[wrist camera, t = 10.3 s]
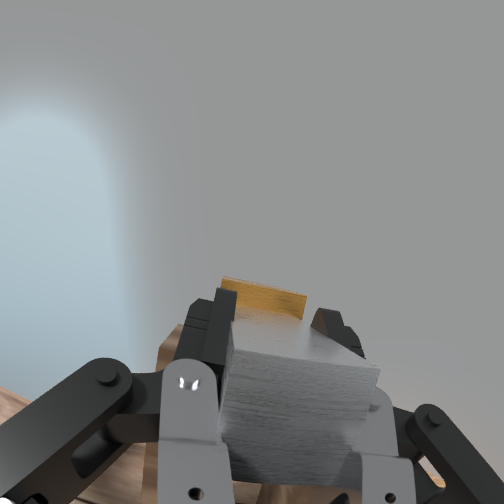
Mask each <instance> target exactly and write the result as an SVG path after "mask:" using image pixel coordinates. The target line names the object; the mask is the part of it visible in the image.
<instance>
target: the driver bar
mask: <svg viewBox="0 0 504 504" xmlns="http://www.w3.org/2000/svg"><path fill="white" fill-rule="evenodd" d="M221 288H222V289H227V290H232V291H237V301H236V309H235V317H234V322H233V321H231V325H230V332H229V339H228V347H227V354H226V362H225V368H224V372H223V375H222V379H221V383H220V387H219V391H218V395H217V396H218V407H219V419H218V427H217V434H221V438H222V441H223V442H225V443H226V445H227V448H228V453H229V460H230V469H231V477H232V480H233V481H242V482H251V483H261V484H274V485H293V486H332V484H333V482H334V481H335V479H336V477H337V475H338V473H339V471H340V469H341V467H342V465H343V463H344V461H345V458H346V456H347V454H348V452H349V450H350V448H351V446H352V445H357V442H358V439H359V437H360V434H361V431H362V428H363V425H364V422H365V419H366V416H367V413H368V410H369V407H370V404H371V400H372V397H373V394H374V390H375V387H376V384H377V380H378V376H379V373H380V368H378V367H377V366H375V365H374V364H372V363H370V362H369V361H367V360H365V359H364V358H362V357H360V356H359V355H357V354H355V353H354V352H352V351H350V350H349V349H347V348H345V347H344V346H342V345H340V344H339V343H337V342H335V341H334V340H332V339H331V338H328V337H326V336H324V335H323V334H321V333H320V332H318V331H316V330H315V329H313V328H312V327H310V326H309V325H308V324H306V323H305V322H303V321H302V317H303V312H304V308H305V303H306V299H307V296H306V295H302V294H299V293H295V292H292V291H288V290H285V289H281V288H278V287H274V286H269V285H264V284H260V283H254V282H250V281H245V280H240V279H235V278H231V277H226V276H223V279H222V283H221Z"/></svg>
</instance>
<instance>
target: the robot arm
mask: <svg viewBox="0 0 504 504" xmlns="http://www.w3.org/2000/svg"><path fill="white" fill-rule="evenodd" d="M236 301H237V291H232V290H227V289H222V288H217V289H216V294H215V298H214V301H208V300H204V299H200V298H199V299H198V300H196V301H195V302H194V303H193V304H192V305H190V307H189V311H188V314H187V317H186V320H185V323H184V327H183V329H182V332H181V336H180V339H179V342H178V345H177V348H176V352H175V355H174V358H173V360H172V362H171V363H170V364H168V365H167V366H166V368H164V369H163V370H161V371H158V372H154V373H131V372H130V370H129V368H128V367H127V366H126V365H125V364H123V363H122V362H120V361H118V360H116V359H112V358H98V359H94V360H92V361H90V362H88V363H87V364H85V365H84V366H82V367H81V368H80V369H78V370H77V371H75V372H74V373H73V374H71V375H70V376H68V377H67V378H66V379H64V380H63V381H61V382H60V383H59V384H57V385H56V386H54V387H53V388H52V389H50V390H49V391H47V392H46V393H45V394H43V395H42V396H40V397H39V398H38V399H36V400H35V401H33V402H32V403H31V404H29V405H28V406H27V407H25V408H24V409H22V410H21V411H20V412H18V413H17V414H15V415H14V416H13V417H11V418H10V419H8V420H7V421H6V422H4V423H3V424H2V425H0V504H70V503H71V502H72V501H73V500H74V499H75V498H76V497H77V496H78V495H79V494H80V493H82V492H83V491H84V490H85V489H86V488H87V487H88V486H89V485H90V484H91V483H92V482H93V481H94V480H95V479H97V478H98V477H99V476H100V475H101V474H102V473H103V472H104V471H105V470H106V469H107V468H108V467H109V466H110V465H111V464H112V463H113V462H114V461H115V460H116V459H117V458H118V457H120V456H121V455H122V454H123V453H124V452H125V451H126V450H127V449H128V448H129V447H130V446H131V445H132V444H133V443H150V442H159V443H158V485H157V504H241V503H235V499H234V492H233V484H232V477H231V469H230V460H229V453H228V448H227V445H226V443H225V442H223V441H222V438H221V434H217V427H218V419H219V407H218V396H217V395H218V391H219V387H220V383H221V379H222V375H223V372H224V368H225V362H226V354H227V347H228V339H229V332H230V325H231V321H233V322H234V317H235V309H236ZM310 327H312V328H313V329H315V330H316V331H318V332H320V333H321V334H323V335H324V336H326V337H328V338H331V339H332V340H334V341H335V342H337V343H339V344H340V345H342V346H344V347H345V348H347V349H349V350H350V351H352V352H354V353H355V354H357V355H359V356H360V357H362V358H364V352H363V350H362V349H361V348H362V346H361V343H360V340H359V338H358V336H357V335H356V333H355V332H354V331H353V330H352V329H351V327H348V326H344V323H343V320H342V317H341V314H340V312H339V311H335V310H329V309H323V308H319V309H318V310H317V311H316V313H315V316H314V318H313V321H312V324H311V326H310ZM364 359H365V360H366V358H364ZM424 456H426V457H427V459H428V460H429V461H430V463H431V464H432V465H433V467H434V468H435V469H436V470H437V472H438V473H439V474H440V475H441V477H442V478H443V479H444V481H445V484H446V487H444V488H441V487H438V486H437V485H436V484H435V483H434V482H433V480H432V479H431V478H430V477H429V475H428V474H427V473H426V471H425V470H424V469H423V467H422V466H421V465H420V464H419V462H418V461H419V460H420V459H421V458H422V457H424ZM306 504H504V483H503V482H502V480H501V479H500V478H499V477H498V475H497V474H496V473H495V472H494V470H493V469H492V468H491V467H490V466H489V464H488V463H487V462H486V461H485V460H484V458H483V457H482V456H481V455H480V454H479V452H478V451H477V450H476V449H475V448H474V447H473V445H472V444H471V443H470V442H469V440H468V439H467V438H466V437H465V436H464V435H463V433H462V432H461V431H460V430H459V429H458V428H457V426H456V425H455V424H454V423H453V422H452V421H451V420H450V418H449V417H448V416H447V415H446V414H445V413H444V412H443V411H442V410H441V409H440V408H438V407H437V406H435V405H432V404H423V405H420V406H419V407H418V408H417V409H416V410H415V412H414V413H412V412H409V411H405V410H402V409H399V408H396V407H393V406H392V402H391V400H390V398H389V396H388V395H387V394H386V393H385V392H384V391H382V390H381V389H379V388H377V387H375V390H374V394H373V397H372V400H371V404H370V407H369V410H368V413H367V416H366V419H365V422H364V425H363V428H362V431H361V434H360V437H359V439H358V442H357V445H352V446H351V448H350V450H349V452H348V454H347V456H346V458H345V461H344V463H343V465H342V467H341V469H340V471H339V473H338V475H337V477H336V479H335V481H334V482H333V484H332V486H312V491H311V494H310V496H309V498H308V500H307V502H306Z"/></svg>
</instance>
